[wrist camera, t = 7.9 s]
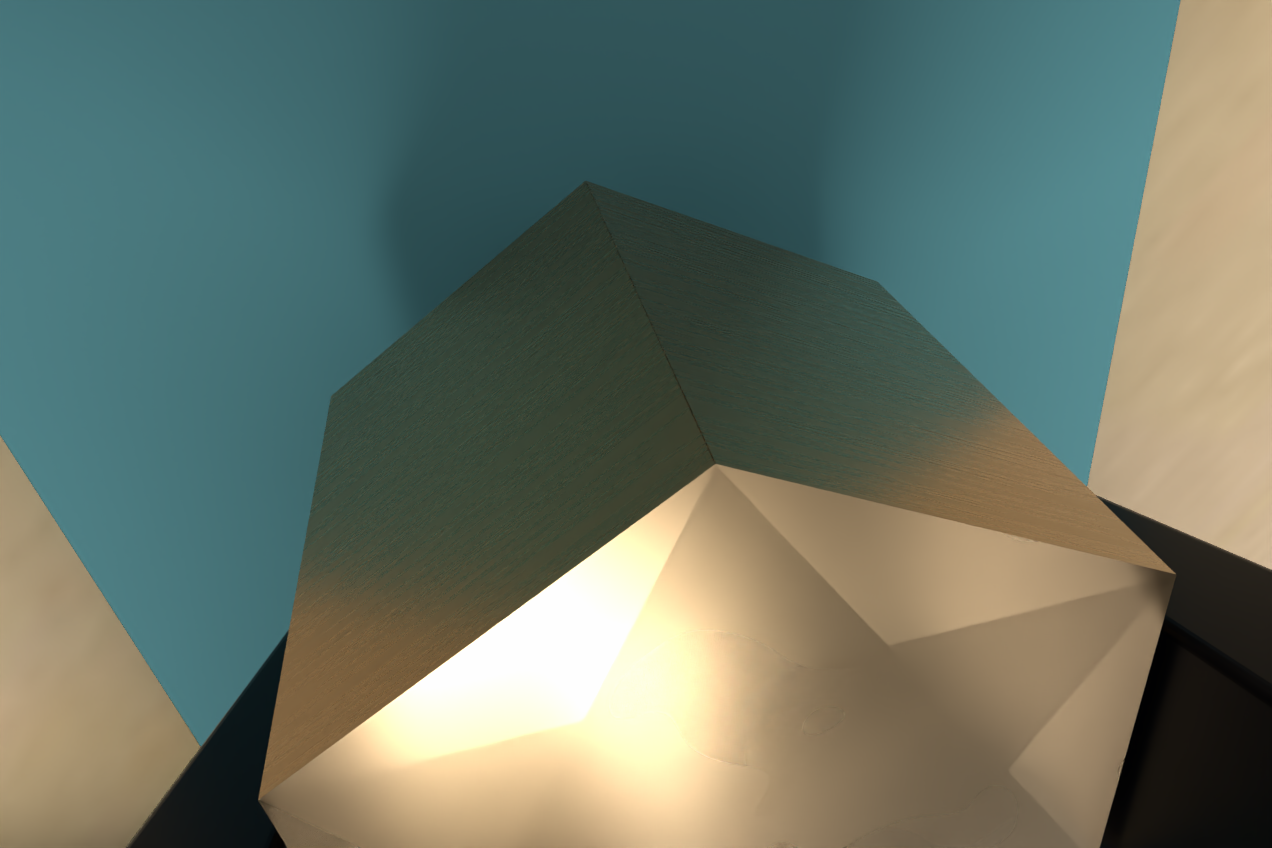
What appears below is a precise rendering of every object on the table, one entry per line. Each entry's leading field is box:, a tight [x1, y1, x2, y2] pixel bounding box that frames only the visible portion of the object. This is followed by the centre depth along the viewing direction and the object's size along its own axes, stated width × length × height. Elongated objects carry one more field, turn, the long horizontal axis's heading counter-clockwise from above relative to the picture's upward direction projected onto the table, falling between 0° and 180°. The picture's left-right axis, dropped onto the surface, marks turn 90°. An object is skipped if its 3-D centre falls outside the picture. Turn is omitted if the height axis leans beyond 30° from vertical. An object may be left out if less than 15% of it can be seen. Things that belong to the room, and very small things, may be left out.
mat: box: [0, 0, 1180, 746], centre depth 10 cm, size 14×12×1 cm
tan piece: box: [258, 181, 1176, 848], centre depth 7 cm, size 6×5×4 cm
